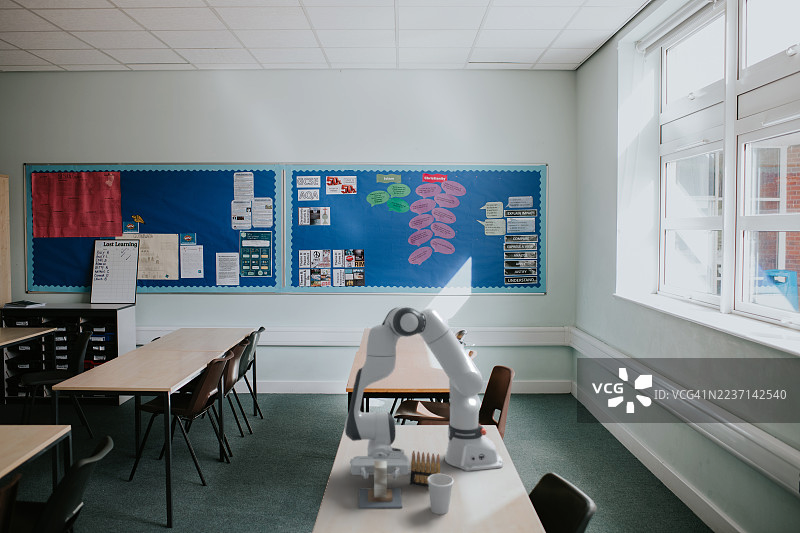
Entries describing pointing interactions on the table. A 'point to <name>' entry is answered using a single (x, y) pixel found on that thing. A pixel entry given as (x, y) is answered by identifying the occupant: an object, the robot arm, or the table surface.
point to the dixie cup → (440, 492)
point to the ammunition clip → (423, 469)
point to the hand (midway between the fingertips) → (380, 476)
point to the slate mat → (373, 505)
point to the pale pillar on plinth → (380, 484)
